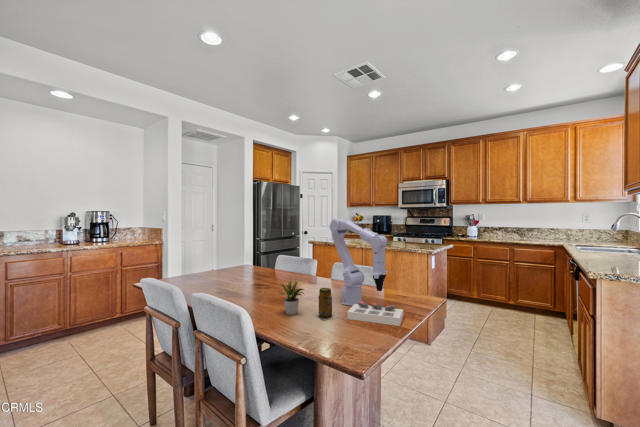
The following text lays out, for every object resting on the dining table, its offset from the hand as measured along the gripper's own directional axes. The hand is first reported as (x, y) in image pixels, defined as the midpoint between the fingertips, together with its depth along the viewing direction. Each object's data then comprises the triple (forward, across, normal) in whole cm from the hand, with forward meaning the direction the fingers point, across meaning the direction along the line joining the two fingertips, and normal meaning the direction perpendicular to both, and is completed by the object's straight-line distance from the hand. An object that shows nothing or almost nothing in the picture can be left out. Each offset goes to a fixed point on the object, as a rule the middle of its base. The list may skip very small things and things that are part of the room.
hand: (379, 290), depth 134 cm
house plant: (+10, -18, +38) cm, 43 cm away
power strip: (+9, -7, 0) cm, 12 cm away
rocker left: (+5, -7, +6) cm, 11 cm away
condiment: (+10, -15, +21) cm, 28 cm away
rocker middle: (+5, -7, 0) cm, 9 cm away
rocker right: (+5, -7, -6) cm, 11 cm away
